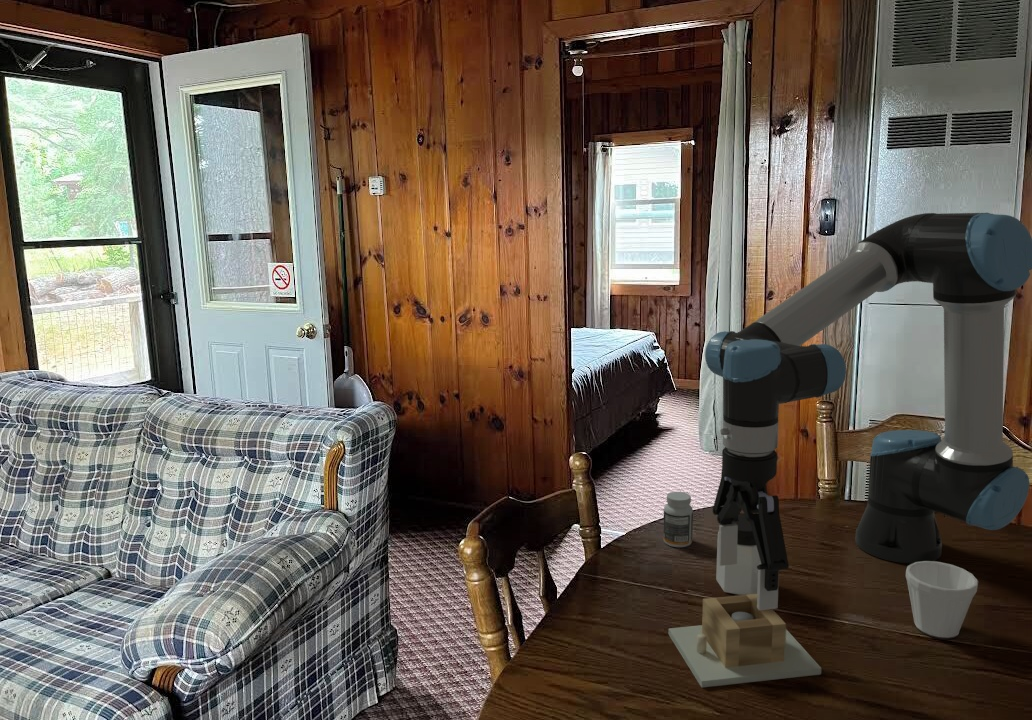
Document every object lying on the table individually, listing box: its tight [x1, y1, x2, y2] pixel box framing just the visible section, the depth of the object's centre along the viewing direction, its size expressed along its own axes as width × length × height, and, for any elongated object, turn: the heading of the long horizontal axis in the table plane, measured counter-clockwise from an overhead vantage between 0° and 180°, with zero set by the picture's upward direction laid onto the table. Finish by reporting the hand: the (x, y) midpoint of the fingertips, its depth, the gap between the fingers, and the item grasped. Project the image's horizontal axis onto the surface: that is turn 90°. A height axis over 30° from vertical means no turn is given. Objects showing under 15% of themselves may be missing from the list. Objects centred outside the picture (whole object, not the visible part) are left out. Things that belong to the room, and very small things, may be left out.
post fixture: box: [668, 612, 822, 688], centre depth 117 cm, size 18×14×6 cm
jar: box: [715, 512, 761, 596], centre depth 137 cm, size 9×8×12 cm
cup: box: [905, 561, 979, 640], centre depth 123 cm, size 10×10×9 cm
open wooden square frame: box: [701, 594, 787, 668], centre depth 117 cm, size 9×9×6 cm
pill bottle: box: [662, 491, 694, 548], centre depth 155 cm, size 6×6×10 cm
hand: (746, 584), depth 116 cm, fingers open, 13 cm apart
